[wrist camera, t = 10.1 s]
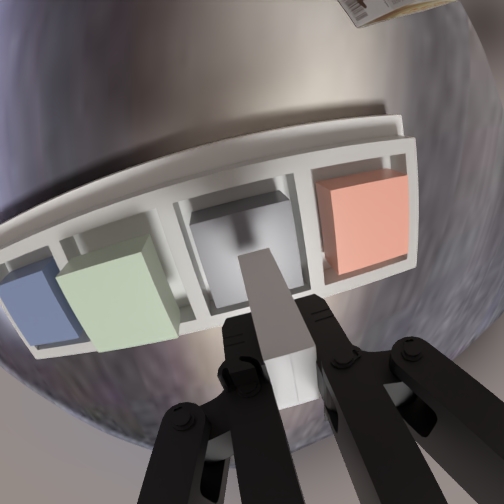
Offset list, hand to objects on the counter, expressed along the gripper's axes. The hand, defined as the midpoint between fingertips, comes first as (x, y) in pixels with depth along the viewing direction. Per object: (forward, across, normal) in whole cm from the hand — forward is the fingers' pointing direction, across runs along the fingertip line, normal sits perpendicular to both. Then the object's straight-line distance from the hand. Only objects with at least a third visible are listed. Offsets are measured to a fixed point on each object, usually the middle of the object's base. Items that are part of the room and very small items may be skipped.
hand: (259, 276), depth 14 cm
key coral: (+6, +8, -1) cm, 10 cm away
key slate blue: (+5, -16, -1) cm, 17 cm away
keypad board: (+8, -4, 0) cm, 9 cm away
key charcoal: (+5, 0, -1) cm, 5 cm away
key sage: (+3, -8, 0) cm, 9 cm away
